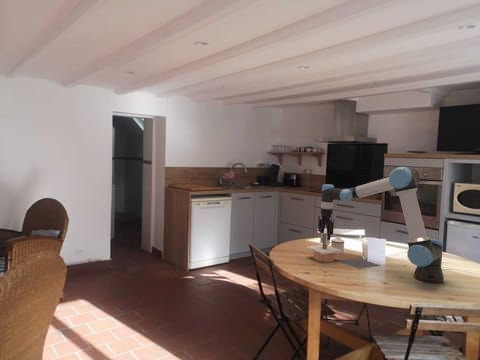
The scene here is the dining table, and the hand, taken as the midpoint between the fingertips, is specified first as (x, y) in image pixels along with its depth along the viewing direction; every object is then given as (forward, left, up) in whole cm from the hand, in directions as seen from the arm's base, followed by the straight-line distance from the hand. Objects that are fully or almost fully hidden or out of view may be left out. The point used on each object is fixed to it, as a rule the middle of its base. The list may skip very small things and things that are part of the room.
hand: (324, 243), depth 238 cm
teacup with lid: (+12, -20, -11) cm, 26 cm away
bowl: (0, 0, -11) cm, 11 cm away
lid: (0, 0, -4) cm, 4 cm away
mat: (-15, -16, -11) cm, 24 cm away
